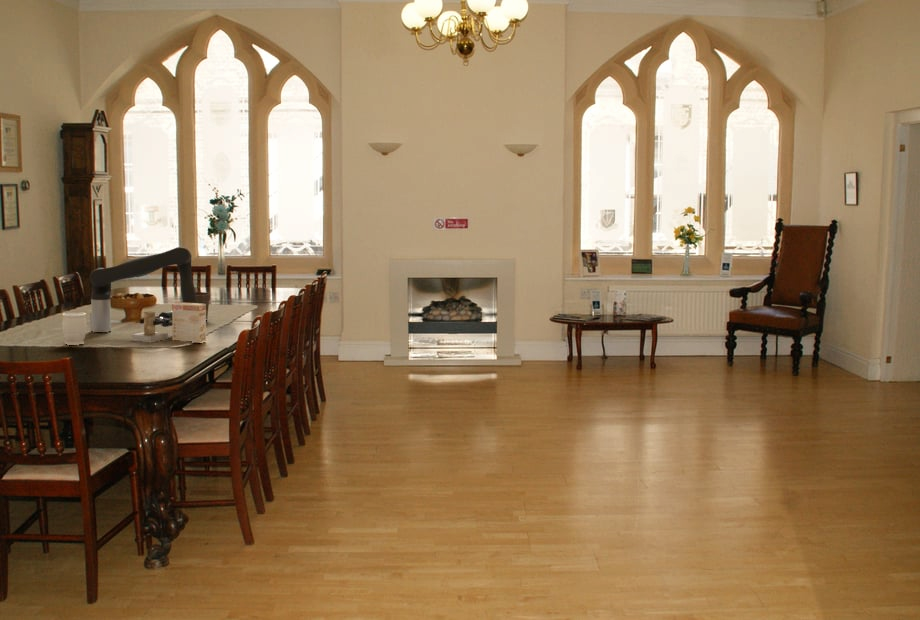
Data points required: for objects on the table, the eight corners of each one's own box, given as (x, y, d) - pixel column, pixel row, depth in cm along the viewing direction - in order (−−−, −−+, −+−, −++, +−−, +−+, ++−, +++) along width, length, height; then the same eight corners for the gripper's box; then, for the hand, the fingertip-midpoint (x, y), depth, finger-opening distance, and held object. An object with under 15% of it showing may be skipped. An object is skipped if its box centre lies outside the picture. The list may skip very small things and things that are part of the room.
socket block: (131, 342, 436) (131, 334, 435) (149, 339, 446) (149, 331, 446) (150, 344, 431) (150, 336, 430) (167, 341, 442) (167, 333, 441)
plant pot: (181, 319, 516) (181, 291, 514) (210, 319, 521) (210, 291, 519) (181, 323, 500) (181, 295, 498) (211, 323, 505) (211, 295, 503)
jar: (78, 341, 432) (78, 311, 430) (91, 344, 427) (90, 313, 425) (58, 344, 424) (57, 313, 422) (70, 347, 418) (70, 315, 416)
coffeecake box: (206, 342, 443) (206, 303, 440) (198, 344, 436) (198, 305, 433) (180, 340, 447) (179, 301, 444) (171, 342, 440) (171, 303, 437)
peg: (144, 340, 438) (144, 311, 436) (149, 339, 441) (149, 311, 439) (149, 340, 436) (149, 312, 434) (155, 339, 439) (154, 311, 438)
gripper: (159, 310, 453) (135, 313, 438) (181, 312, 447) (158, 315, 432) (159, 324, 454) (135, 328, 439) (181, 327, 448) (158, 331, 433)
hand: (147, 322), depth 436 cm, fingers open, 8 cm apart
